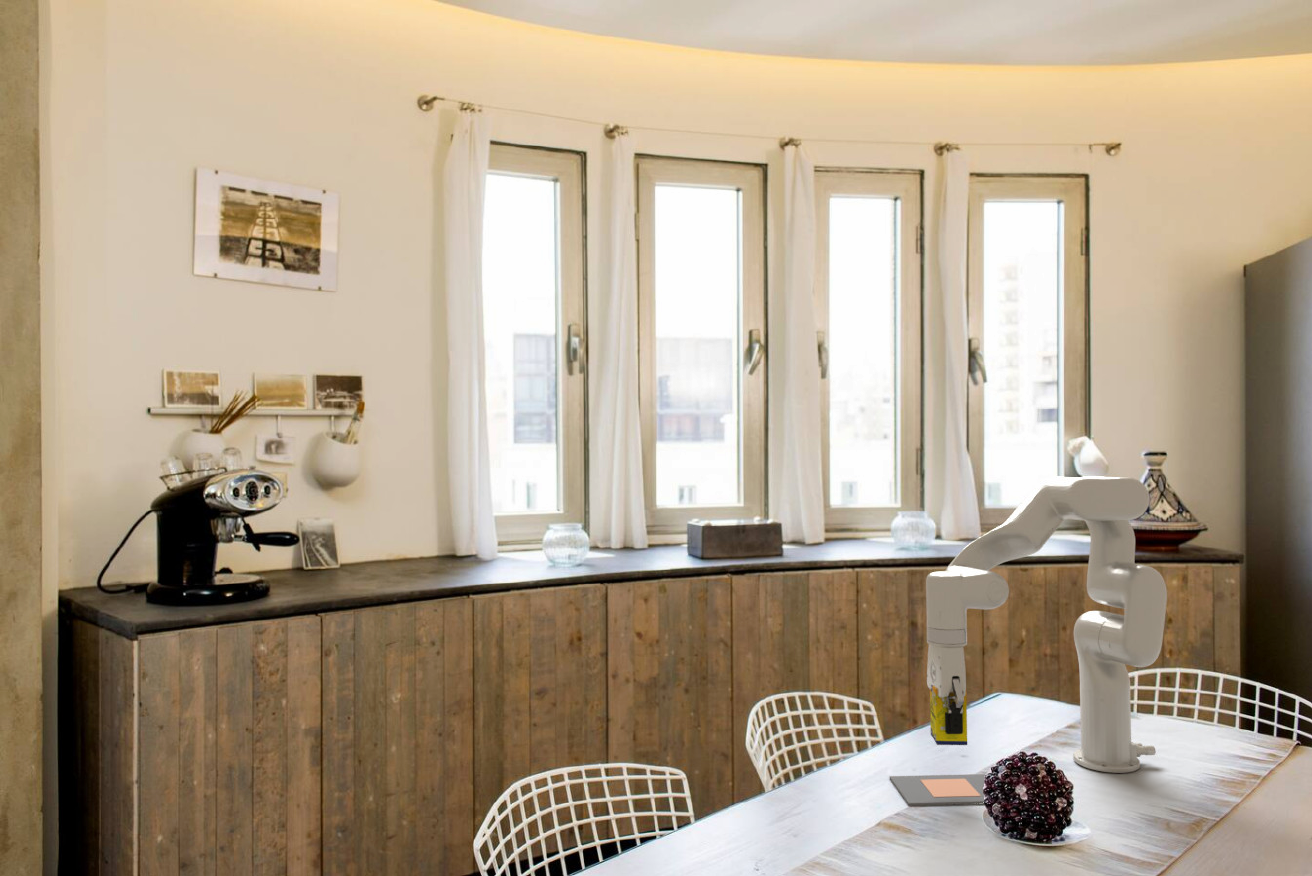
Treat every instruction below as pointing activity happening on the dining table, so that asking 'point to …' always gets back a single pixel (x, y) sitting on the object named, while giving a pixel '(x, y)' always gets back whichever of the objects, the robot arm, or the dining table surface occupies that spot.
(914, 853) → the dining table surface
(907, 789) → the mat
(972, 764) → the dining table surface
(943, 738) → the supplement box
